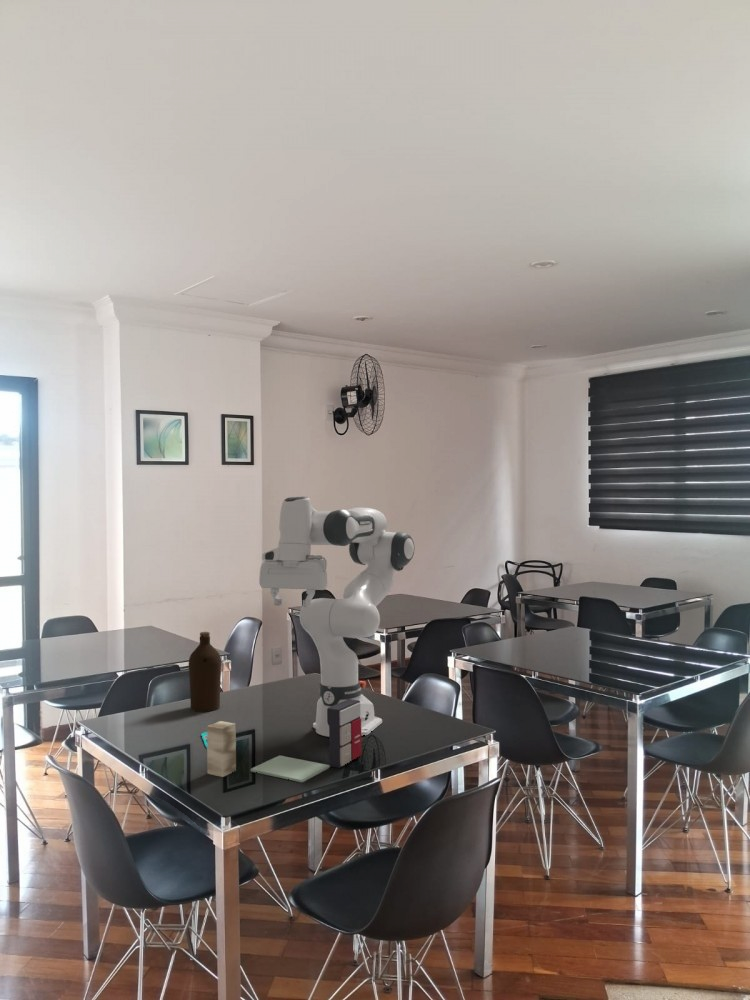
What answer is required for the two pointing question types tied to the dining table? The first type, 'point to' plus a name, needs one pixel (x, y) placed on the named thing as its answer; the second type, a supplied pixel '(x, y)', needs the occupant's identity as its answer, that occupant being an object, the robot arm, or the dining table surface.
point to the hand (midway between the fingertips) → (291, 606)
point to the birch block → (221, 748)
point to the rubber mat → (290, 768)
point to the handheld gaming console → (204, 738)
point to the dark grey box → (344, 732)
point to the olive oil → (205, 676)
